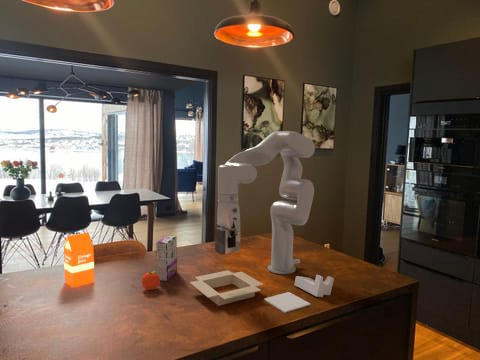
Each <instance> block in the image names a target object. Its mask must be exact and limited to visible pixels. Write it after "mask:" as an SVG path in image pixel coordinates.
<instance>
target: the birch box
mask: <svg viewBox="0 0 480 360" xmlns="http://www.w3.org/2000/svg"><path fill="white" fill-rule="evenodd" d="M231 229H233V227H231ZM239 230H240V231H239V232H238V233H237V236H236V246H235V247H232V248H228V237H229V235H228V229H226V228H223V227H219V226H218V227H215V228H214V237H215V238H214V240H215V241H214V242H215V243H214V249H215V250H214V252H216V253H218V254H220V255H222V256H223V255H226V254H227V255H228V254H232V253H240V252H241V227H240V228H239ZM232 231H233V230H231V233H232Z"/></svg>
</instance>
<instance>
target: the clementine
mask: <svg viewBox="0 0 480 360" xmlns="http://www.w3.org/2000/svg"><path fill="white" fill-rule="evenodd" d="M158 273H159V272H158ZM160 275H161V274H160ZM160 282H161V281H160V277H159V275H158V274H157V270H156V271H154V270H152V271H148V272H146V273H145V274H144V275H143V277H142V279H141V285H142V287H143V288H144V289H145V290H147V291H153V290H154V291H155V289H157V288H158V287H159V286H160Z"/></svg>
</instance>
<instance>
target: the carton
mask: <svg viewBox="0 0 480 360" xmlns="http://www.w3.org/2000/svg"><path fill="white" fill-rule="evenodd" d="M194 278H195V281H194V280H193V281H189V284H190V285H191V286H193V287H194V288H195V289H197V290H198V291H199V292H200V293H202V294H203V295H204V296H205V297H207V299H209V300H211V301H212V303H214V304H215V305H217V306H223V305H227V304H230V303H235V302H239V301H242V300H246V299H249V298H254V297H255V296H256V295H255V294H256V293H258V292H261V291H262V289H260V288H259V287H260V286H264V283H262V282H261V281H259V280H257V279H255V278H254V277H252V276H250V275H248V274H246V273H245V272H243V271H238V272H233V271H230V270H223V271H217V272H214V273H212V272H211V273H208V274H203V275H199V276H194ZM228 285H234V286H235V287H237V289H234V290H228V291H226V292H225V291H224V292H221V293H220V292H218V291H216V290H215V289H216V288H219V287H224V286H228ZM214 288H215V289H214Z"/></svg>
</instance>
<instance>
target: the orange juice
mask: <svg viewBox="0 0 480 360" xmlns="http://www.w3.org/2000/svg"><path fill="white" fill-rule="evenodd" d="M94 250H95V249H94V245H93V242H92V238H91V235H90V232H84V233H78V234H72V235H67V236H66V240H65V243H64V246H63V260H64V262H63V266H64V267H63V269H64V283H65V284H66V283H67V284H66V285H67V286H69V285H70V286H71V288H72V287H73V288H72V289H74V287H75V288H78V286H79V287H81V285H82V286H86V285H90V284H92V283H95V257H94V255H95V253H94ZM85 284H86V285H85ZM70 286H69V287H70Z"/></svg>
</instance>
